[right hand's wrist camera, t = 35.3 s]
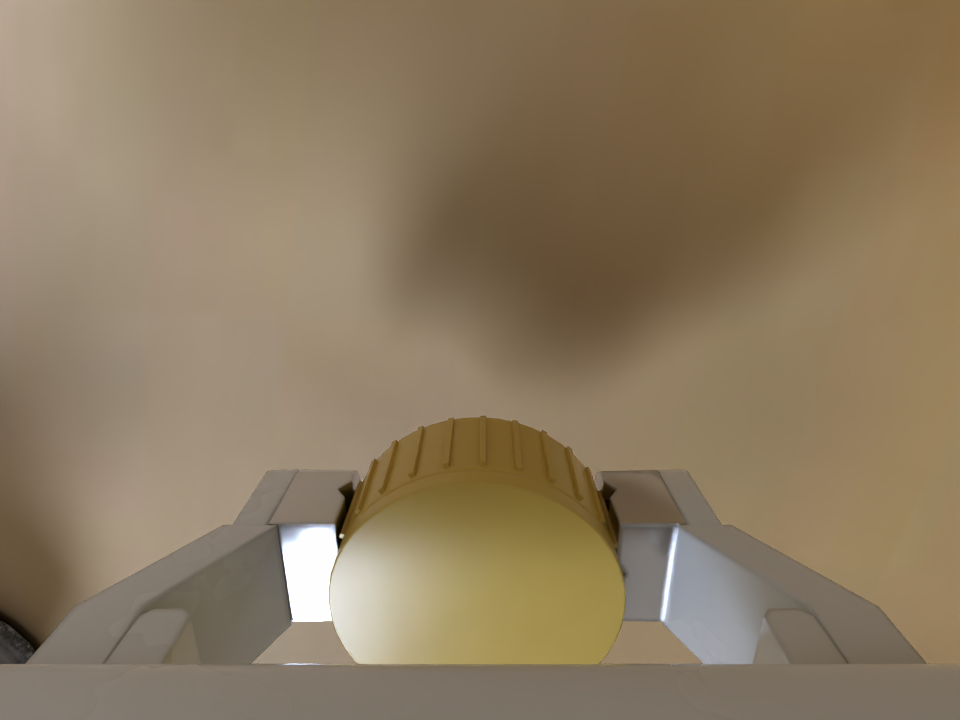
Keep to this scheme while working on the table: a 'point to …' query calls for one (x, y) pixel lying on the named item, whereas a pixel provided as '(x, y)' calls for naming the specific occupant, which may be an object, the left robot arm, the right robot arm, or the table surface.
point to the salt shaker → (13, 646)
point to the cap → (477, 553)
